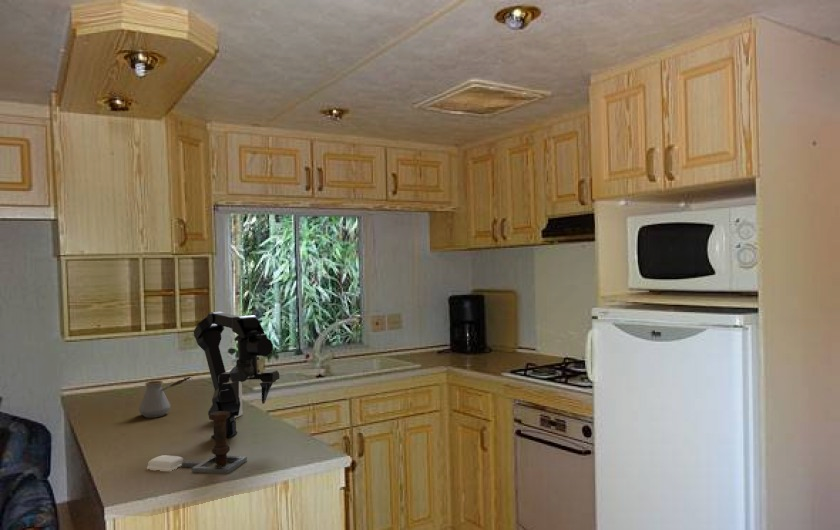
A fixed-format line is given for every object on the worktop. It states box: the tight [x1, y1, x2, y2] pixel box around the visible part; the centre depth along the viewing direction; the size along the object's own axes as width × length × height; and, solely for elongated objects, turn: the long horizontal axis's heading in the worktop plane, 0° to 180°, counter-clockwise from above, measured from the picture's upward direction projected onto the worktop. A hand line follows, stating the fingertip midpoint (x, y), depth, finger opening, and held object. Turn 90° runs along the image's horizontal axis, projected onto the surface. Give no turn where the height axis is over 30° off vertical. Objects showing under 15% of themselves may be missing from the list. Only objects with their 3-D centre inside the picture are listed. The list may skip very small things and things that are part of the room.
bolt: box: [208, 411, 231, 467], centre depth 175 cm, size 6×5×15 cm
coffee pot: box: [138, 376, 193, 419], centre depth 238 cm, size 21×12×15 cm, turn 84°
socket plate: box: [181, 455, 248, 475], centre depth 174 cm, size 16×11×1 cm, turn 79°
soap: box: [146, 454, 184, 472], centre depth 175 cm, size 9×7×3 cm
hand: (250, 403), depth 195 cm, fingers open, 9 cm apart
